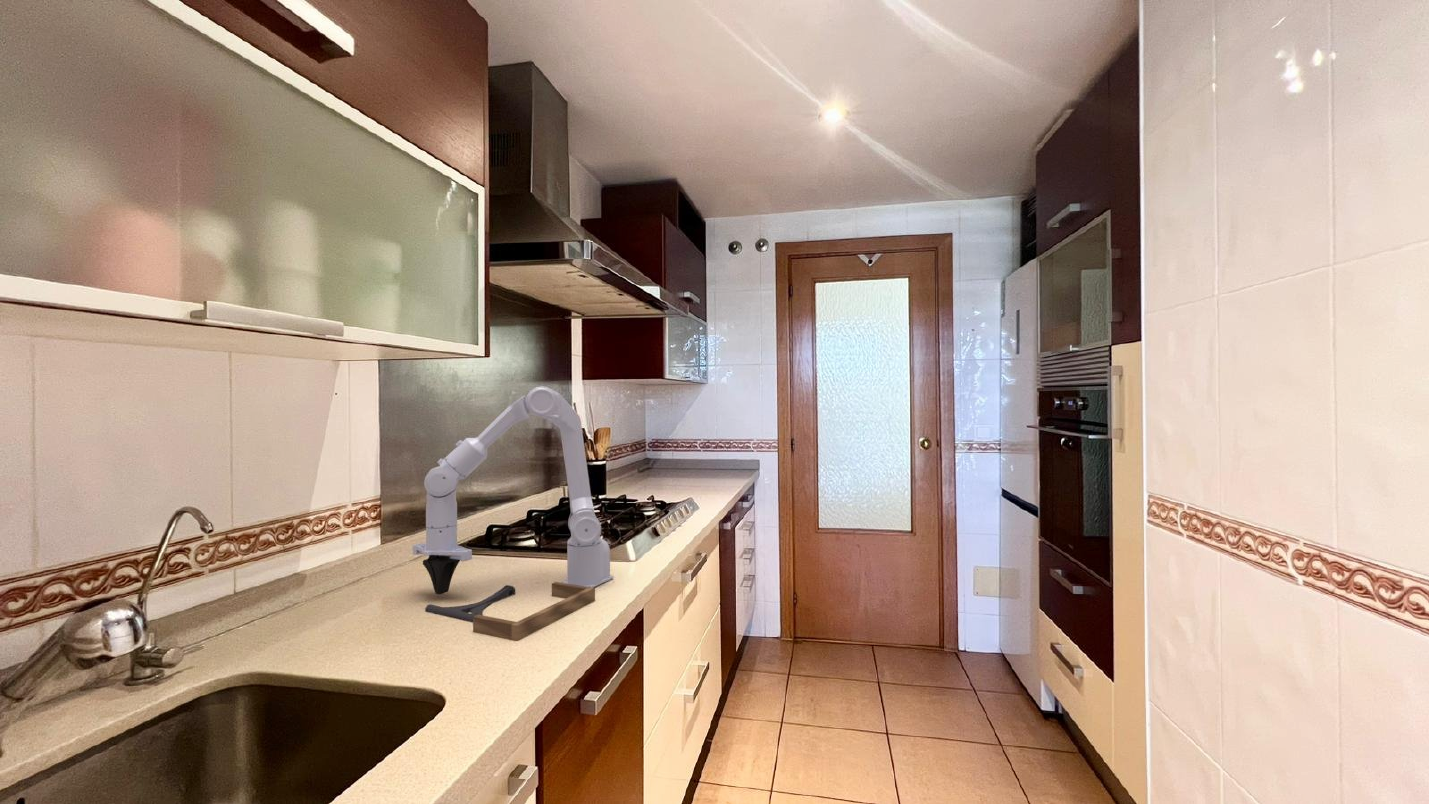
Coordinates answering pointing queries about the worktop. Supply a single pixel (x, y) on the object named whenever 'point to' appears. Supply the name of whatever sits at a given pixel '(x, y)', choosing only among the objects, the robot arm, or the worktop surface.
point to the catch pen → (534, 622)
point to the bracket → (471, 606)
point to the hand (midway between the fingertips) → (441, 592)
